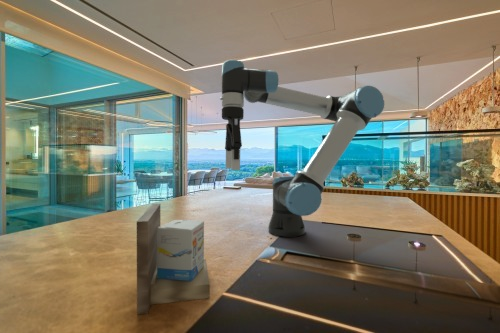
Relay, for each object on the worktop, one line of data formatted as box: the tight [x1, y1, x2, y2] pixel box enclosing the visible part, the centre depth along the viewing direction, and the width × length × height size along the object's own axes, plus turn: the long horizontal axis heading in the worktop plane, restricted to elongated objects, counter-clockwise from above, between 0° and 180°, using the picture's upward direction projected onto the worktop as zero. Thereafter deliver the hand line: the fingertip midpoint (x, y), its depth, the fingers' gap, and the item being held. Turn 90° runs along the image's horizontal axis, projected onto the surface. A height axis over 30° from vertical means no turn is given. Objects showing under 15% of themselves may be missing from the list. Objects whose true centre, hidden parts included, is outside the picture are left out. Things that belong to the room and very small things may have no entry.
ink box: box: [157, 219, 205, 281], centre depth 60 cm, size 9×8×12 cm
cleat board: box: [136, 203, 211, 316], centre depth 59 cm, size 14×20×18 cm
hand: (232, 169), depth 87 cm, fingers open, 13 cm apart
